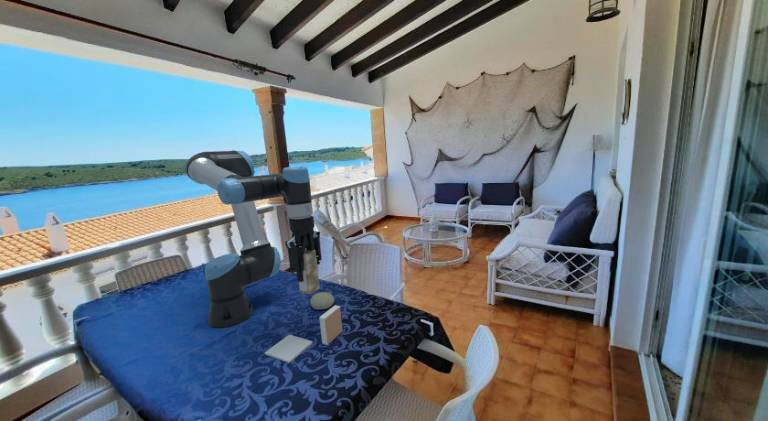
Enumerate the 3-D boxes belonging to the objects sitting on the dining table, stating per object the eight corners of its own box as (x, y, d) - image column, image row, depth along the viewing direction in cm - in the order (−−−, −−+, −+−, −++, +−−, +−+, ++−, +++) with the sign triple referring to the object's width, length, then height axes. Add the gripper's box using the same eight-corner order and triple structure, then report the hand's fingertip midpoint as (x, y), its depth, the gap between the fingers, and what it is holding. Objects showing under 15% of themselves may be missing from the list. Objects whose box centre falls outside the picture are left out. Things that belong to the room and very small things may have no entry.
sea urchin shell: (331, 307, 112) (315, 292, 112) (319, 320, 114) (303, 306, 114) (339, 296, 121) (325, 282, 121) (328, 308, 123) (313, 295, 123)
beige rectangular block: (310, 294, 94) (305, 254, 92) (299, 292, 96) (294, 253, 94) (319, 288, 98) (315, 250, 96) (309, 286, 100) (304, 249, 98)
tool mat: (264, 354, 90) (264, 352, 90) (289, 336, 98) (289, 334, 98) (289, 363, 85) (289, 361, 85) (312, 343, 94) (312, 341, 94)
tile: (322, 343, 93) (319, 317, 92) (337, 330, 100) (335, 305, 99) (327, 345, 92) (324, 318, 91) (342, 331, 99) (340, 306, 98)
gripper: (289, 223, 83) (299, 300, 87) (328, 211, 99) (335, 277, 103) (270, 222, 87) (280, 296, 91) (310, 211, 102) (318, 275, 106)
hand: (309, 286), depth 97 cm, fingers closed on beige rectangular block, 4 cm apart
